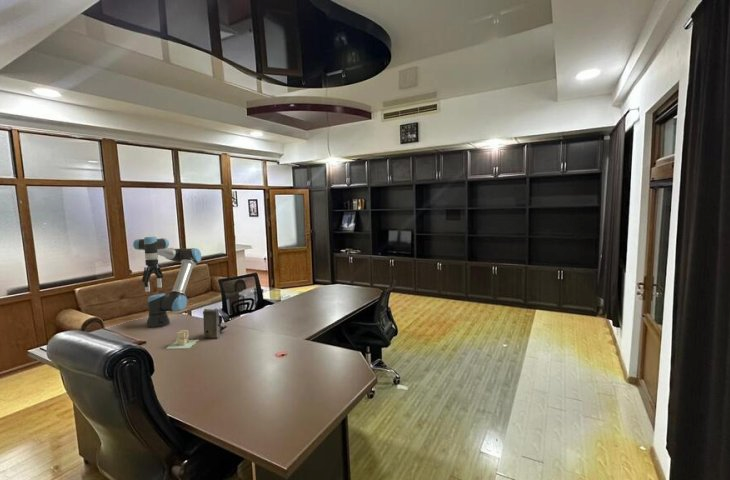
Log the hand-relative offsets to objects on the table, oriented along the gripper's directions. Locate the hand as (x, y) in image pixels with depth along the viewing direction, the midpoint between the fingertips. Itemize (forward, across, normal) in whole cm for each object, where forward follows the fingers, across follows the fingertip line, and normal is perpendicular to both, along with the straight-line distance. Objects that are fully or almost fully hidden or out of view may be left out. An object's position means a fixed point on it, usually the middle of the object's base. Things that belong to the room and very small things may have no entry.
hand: (153, 289), depth 237 cm
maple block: (+31, +22, +30) cm, 49 cm away
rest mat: (+32, +22, +30) cm, 49 cm away
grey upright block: (+32, +5, +44) cm, 55 cm away
